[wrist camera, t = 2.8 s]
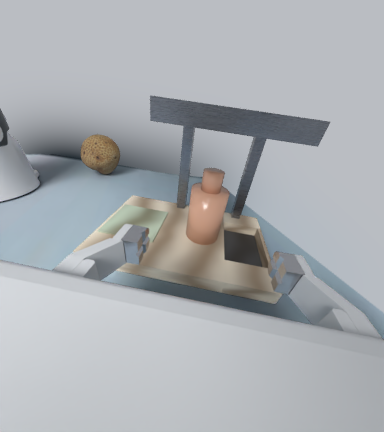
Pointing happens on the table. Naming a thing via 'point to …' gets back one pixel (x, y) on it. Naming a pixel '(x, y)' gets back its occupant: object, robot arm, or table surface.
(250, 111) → the tunnel roof
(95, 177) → the table surface
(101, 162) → the natural sponge
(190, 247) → the birch board
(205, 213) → the terracotta bottle
